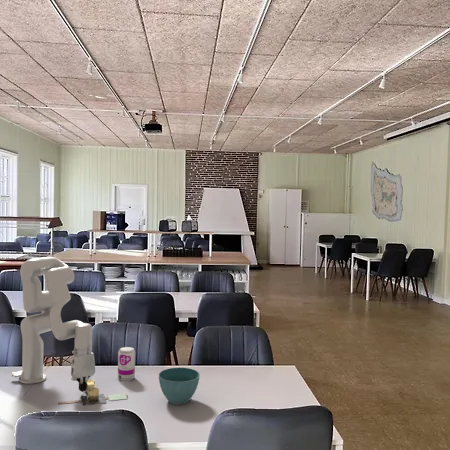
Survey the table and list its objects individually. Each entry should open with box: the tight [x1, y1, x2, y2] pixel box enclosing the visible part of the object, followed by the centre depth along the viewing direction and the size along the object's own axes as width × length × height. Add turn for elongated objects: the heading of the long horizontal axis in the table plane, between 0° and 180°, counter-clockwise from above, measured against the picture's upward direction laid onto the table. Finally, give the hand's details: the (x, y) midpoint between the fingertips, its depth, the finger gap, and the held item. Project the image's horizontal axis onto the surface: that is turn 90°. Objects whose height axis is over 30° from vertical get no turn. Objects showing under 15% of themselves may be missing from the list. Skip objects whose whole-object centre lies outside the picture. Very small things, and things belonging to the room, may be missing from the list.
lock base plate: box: [80, 393, 107, 406], centre depth 219 cm, size 10×10×1 cm
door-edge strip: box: [57, 394, 128, 405], centre depth 219 cm, size 30×2×1 cm, turn 110°
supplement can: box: [117, 346, 136, 382], centre depth 247 cm, size 8×8×15 cm
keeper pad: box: [107, 393, 128, 402], centre depth 223 cm, size 8×6×1 cm
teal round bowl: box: [158, 367, 200, 405], centre depth 221 cm, size 18×18×12 cm
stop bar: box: [85, 378, 100, 401], centre depth 224 cm, size 15×4×4 cm, turn 25°
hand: (82, 390), depth 225 cm, fingers closed
